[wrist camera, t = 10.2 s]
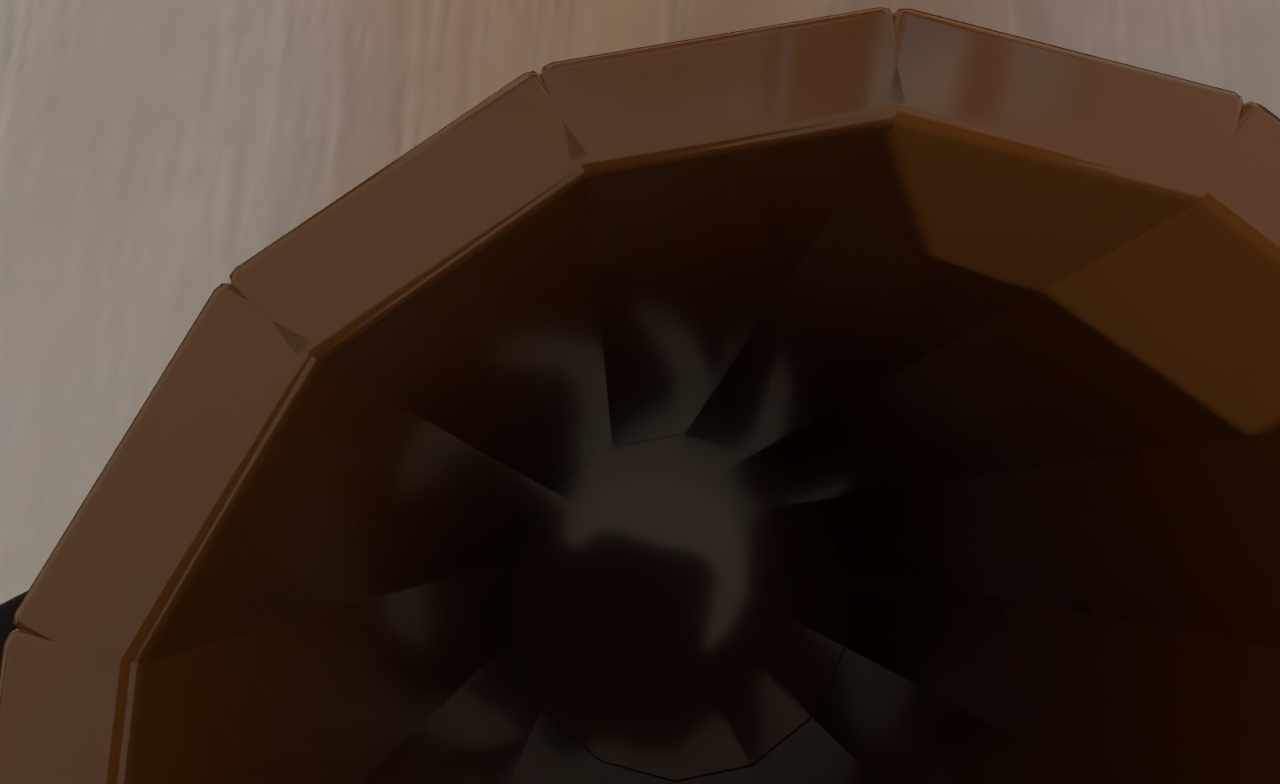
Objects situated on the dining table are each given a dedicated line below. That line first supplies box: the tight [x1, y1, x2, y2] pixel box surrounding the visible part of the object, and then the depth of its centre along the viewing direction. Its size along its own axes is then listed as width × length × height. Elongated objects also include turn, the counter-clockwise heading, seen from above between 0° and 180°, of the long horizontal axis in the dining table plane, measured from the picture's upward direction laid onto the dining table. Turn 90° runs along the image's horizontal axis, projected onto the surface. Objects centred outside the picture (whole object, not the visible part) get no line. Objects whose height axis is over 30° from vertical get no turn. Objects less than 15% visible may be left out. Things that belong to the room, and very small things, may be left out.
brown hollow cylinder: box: [0, 7, 1280, 784], centre depth 9 cm, size 6×6×12 cm
